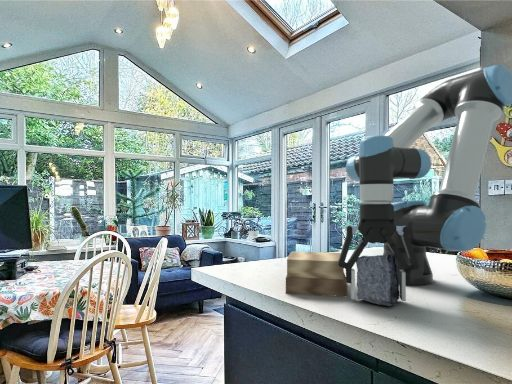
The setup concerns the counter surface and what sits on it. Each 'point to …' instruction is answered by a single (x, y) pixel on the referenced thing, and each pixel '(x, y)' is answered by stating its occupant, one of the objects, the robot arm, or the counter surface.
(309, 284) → the tower base
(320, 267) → the tower top
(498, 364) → the counter surface
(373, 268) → the stone
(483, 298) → the counter surface
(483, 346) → the counter surface
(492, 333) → the counter surface
